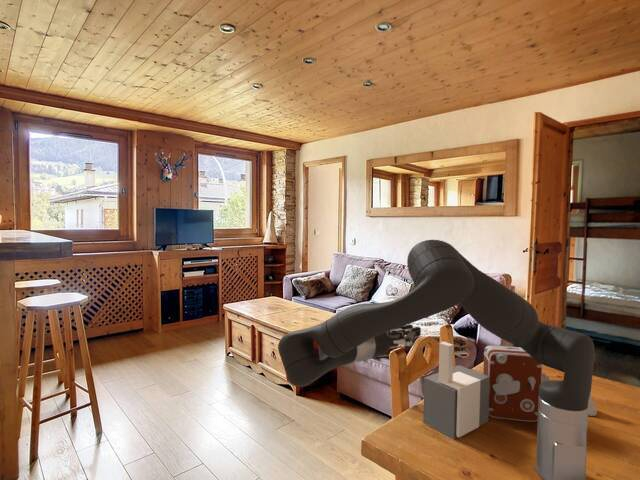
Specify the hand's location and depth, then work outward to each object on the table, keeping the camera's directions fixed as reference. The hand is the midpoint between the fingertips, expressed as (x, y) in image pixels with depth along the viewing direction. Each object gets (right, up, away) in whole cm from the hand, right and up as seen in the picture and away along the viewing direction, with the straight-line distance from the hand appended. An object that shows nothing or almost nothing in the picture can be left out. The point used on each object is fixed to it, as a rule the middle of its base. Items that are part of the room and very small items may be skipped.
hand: (415, 329), depth 92 cm
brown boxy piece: (+35, -30, +17) cm, 49 cm away
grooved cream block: (+14, -29, +9) cm, 33 cm away
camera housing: (+16, -29, +14) cm, 37 cm away
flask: (+56, -29, +20) cm, 66 cm away
